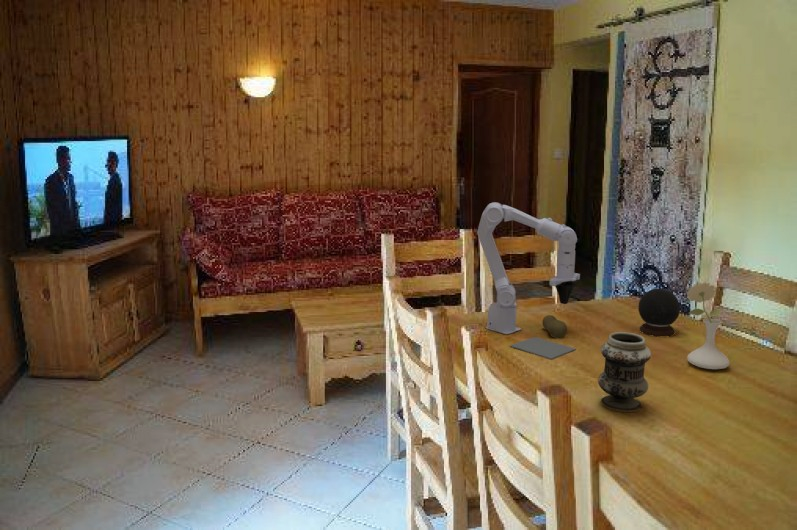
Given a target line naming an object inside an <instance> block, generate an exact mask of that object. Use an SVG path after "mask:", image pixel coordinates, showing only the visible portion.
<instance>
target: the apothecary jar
mask: <svg viewBox="0 0 797 530" xmlns="http://www.w3.org/2000/svg"><path fill="white" fill-rule="evenodd" d="M600 352H601V355H602V356H603V357H604V358H605V359H604V360H605V361H604V368H603V372H601V373H600V375H599V376H598V378H597V383H598V386H599V388H600V389H601V390H602V391H603V392H605V393H606V394H608V395H605V396H603V397H602V398H601V400H600V403H601V404H602V406H603V407H605V408H606V409H609V410H611V411H614V412H615V411H616V412H619V413H634V412H639V411H640V409H641V408H643V405H642V403H641V402H640V401H639V400H638V399H636V398H639V397H641V396H643V395H645V394H646V393H647V391H648V390H649V383H648V380H647V379H646V378H645V365H646V363H647V362H648V361H650V359H651V356H652V352H651V350H650V348H649V347H648V346H646V339H645V337H643V336H642V335H641V334H637V333H635V332H633V333H632V332H625V331H617V332H613V333H610V334H609V335H608V340H607V341H605V342H604V343H603V344H602V345H601V348H600Z"/></svg>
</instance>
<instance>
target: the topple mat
mask: <svg viewBox="0 0 797 530" xmlns="http://www.w3.org/2000/svg"><path fill="white" fill-rule="evenodd" d="M512 347H513V348H512ZM509 348H512V349H516V350H518V351H522V352H525V353H528V354H533V355H534V354H535V356H538V357H542V358H544V359H548V360H554V359H556V358H559V357H562V356H563V355H566V354H569V353H572V352H575V351H576V350H577V348H574V347H571V346H567V345H564V344H562V343H561V344H560V343H557V342H554V341H550V340H547V339H543V338H540V337H536V336H532V337H529V338H527V339H525V340H520V341H518V342H516V343H513V344H511V345H509Z"/></svg>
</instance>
